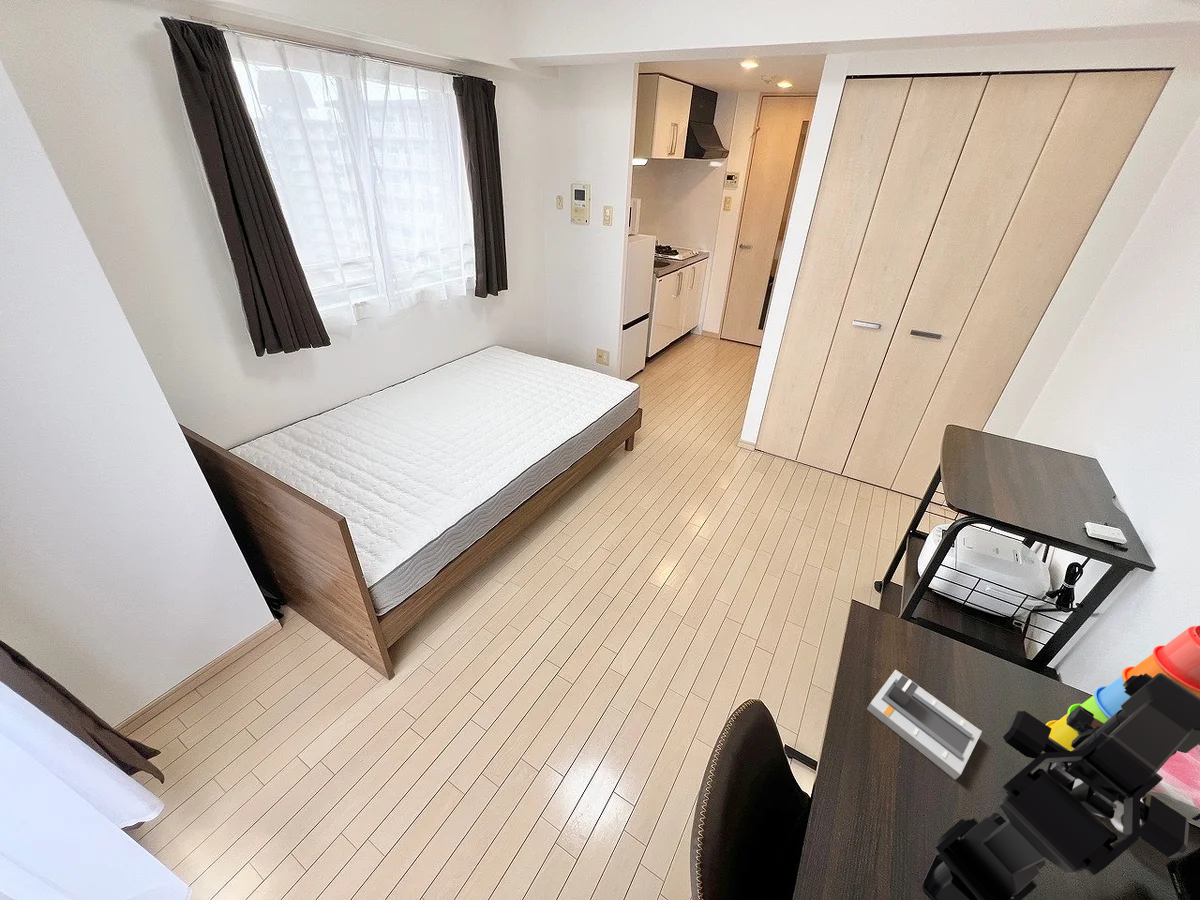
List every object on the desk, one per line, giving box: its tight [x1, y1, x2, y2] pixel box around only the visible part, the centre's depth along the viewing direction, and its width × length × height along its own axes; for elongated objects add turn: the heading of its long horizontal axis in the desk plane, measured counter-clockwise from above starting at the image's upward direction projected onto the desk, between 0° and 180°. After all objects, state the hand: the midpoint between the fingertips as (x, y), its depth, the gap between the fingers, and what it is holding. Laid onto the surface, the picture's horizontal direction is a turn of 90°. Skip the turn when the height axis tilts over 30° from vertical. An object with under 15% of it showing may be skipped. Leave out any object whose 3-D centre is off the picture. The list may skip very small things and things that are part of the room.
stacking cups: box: [1045, 625, 1200, 751], centre depth 82 cm, size 10×10×35 cm
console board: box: [866, 669, 983, 781], centre depth 93 cm, size 12×16×2 cm
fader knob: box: [888, 674, 919, 707], centre depth 94 cm, size 4×3×4 cm
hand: (1054, 803), depth 72 cm, fingers closed
